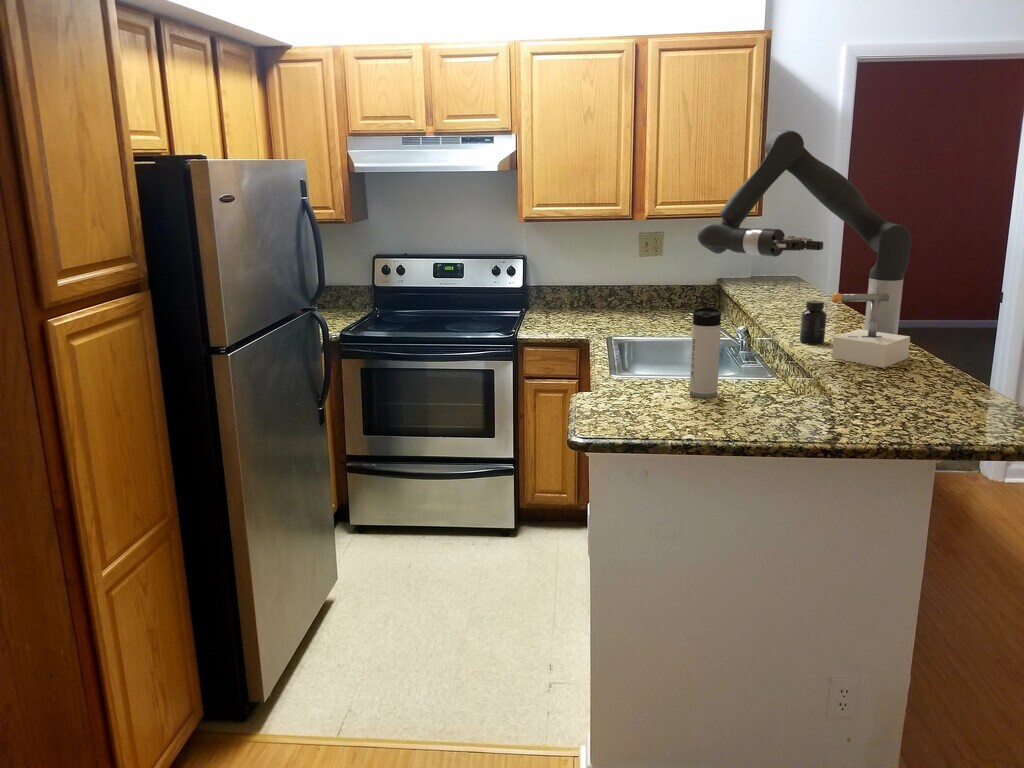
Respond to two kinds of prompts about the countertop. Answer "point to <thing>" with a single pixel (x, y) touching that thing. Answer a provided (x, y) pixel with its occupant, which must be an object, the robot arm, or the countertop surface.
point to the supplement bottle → (813, 323)
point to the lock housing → (871, 348)
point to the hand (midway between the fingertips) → (821, 245)
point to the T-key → (873, 298)
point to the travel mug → (705, 352)
